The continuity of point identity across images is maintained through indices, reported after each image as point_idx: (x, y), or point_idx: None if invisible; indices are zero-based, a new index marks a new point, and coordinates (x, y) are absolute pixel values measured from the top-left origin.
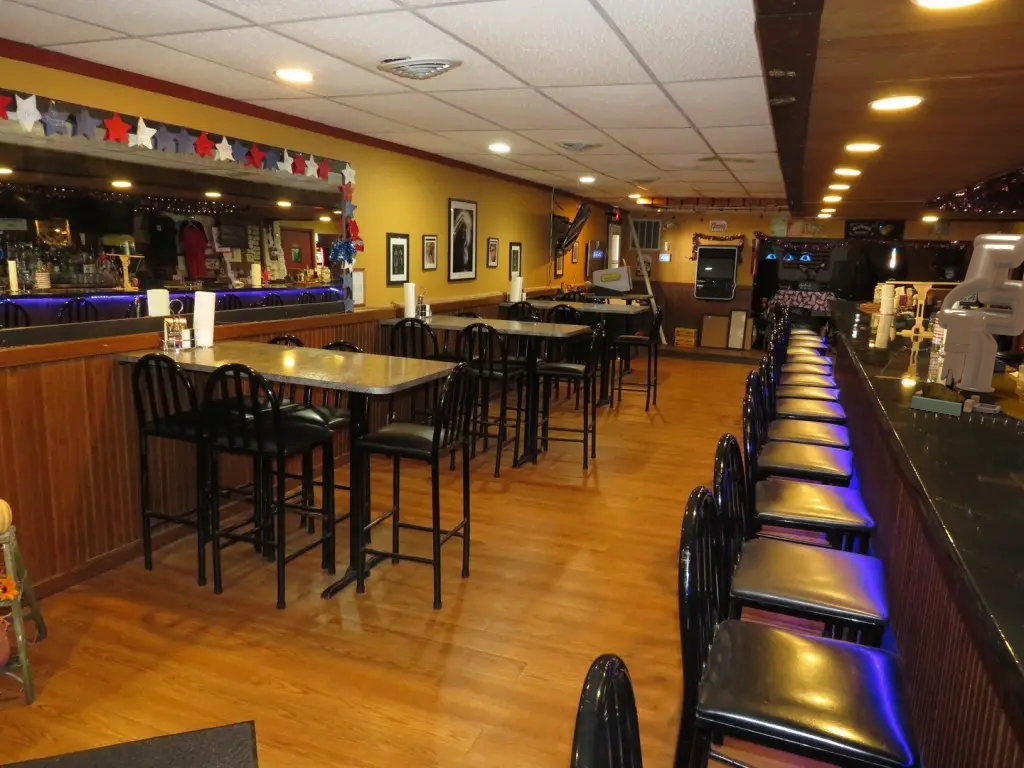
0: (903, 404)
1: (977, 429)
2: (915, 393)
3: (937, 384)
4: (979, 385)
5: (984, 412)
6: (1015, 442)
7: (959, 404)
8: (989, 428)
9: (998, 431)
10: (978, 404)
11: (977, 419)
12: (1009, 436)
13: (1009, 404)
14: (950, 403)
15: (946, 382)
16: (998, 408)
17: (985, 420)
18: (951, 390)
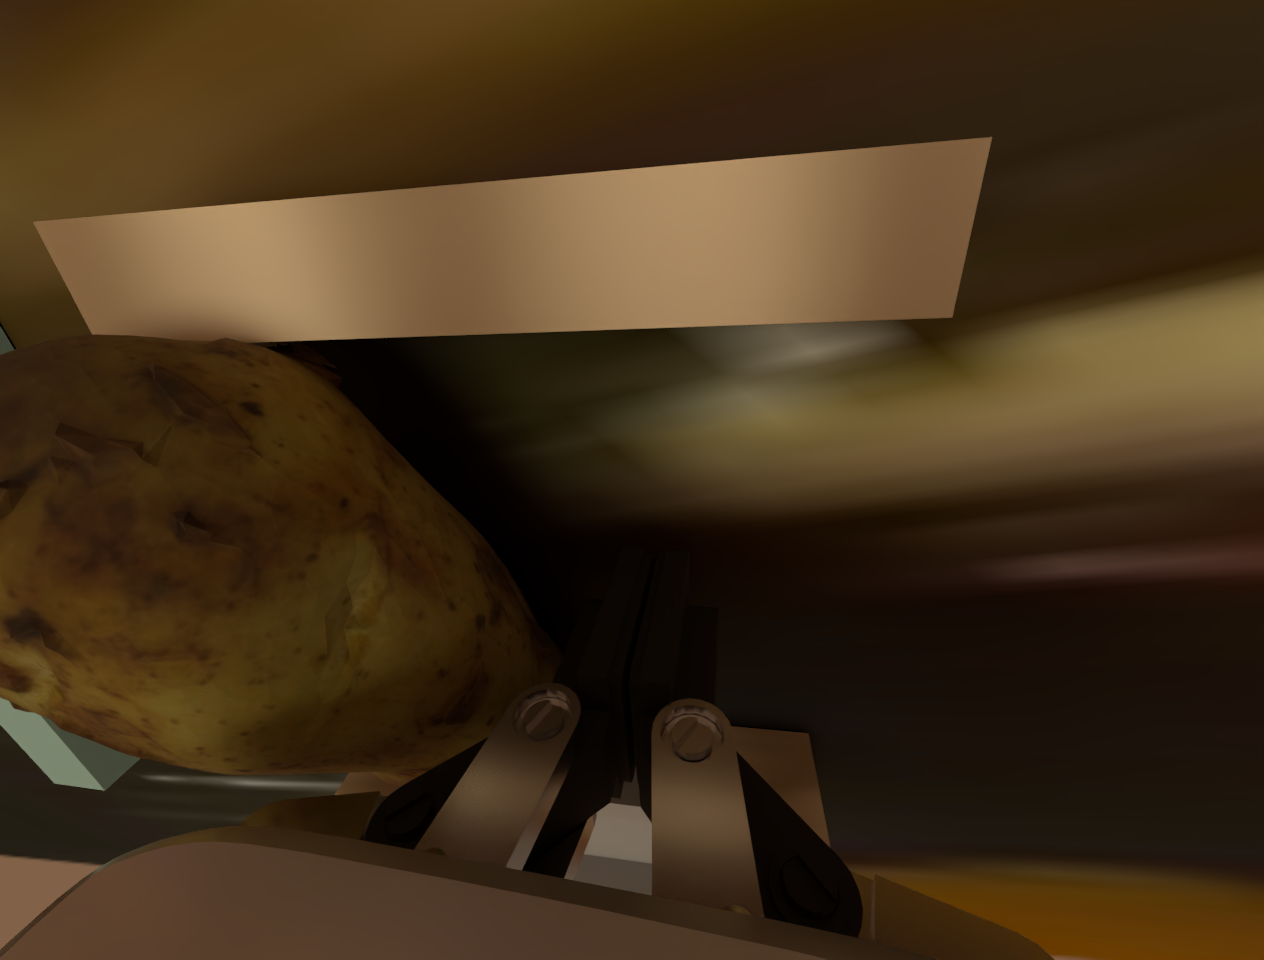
0: (9, 150)
1: (10, 764)
2: (43, 241)
3: (18, 706)
4: None
5: None
6: (8, 856)
7: (48, 776)
8: (105, 803)
9: (100, 827)
10: (642, 814)
11: None
12: (71, 850)
13: (1150, 941)
14: (6, 719)
15: (434, 836)
16: None
17: (272, 796)
18: (385, 773)
